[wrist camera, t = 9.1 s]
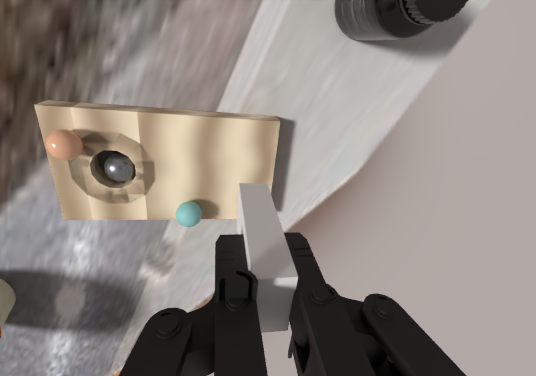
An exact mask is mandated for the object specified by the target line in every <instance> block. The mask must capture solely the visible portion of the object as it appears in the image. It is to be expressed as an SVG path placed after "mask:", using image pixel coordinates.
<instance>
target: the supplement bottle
mask: <svg viewBox="0 0 536 376" xmlns="http://www.w3.org/2000/svg"><path fill="white" fill-rule="evenodd" d="M467 1H468V0H335V17H336V21H337V23H338V26H339V27H340V29H341V30H342V32H343V33H344V34H345V35H346V36H348V37H349V38H352V39H354V40H362V41H363V40H364V41H366V40H400V39H409V38H413V37H416V36H418V35H420V34H422V33H423V32H425V31H426V30H427V29H429V28H430V27H431V26H432V25H433V24H434V23H441V22H443V21H447V20H448V19H450V18H451V17H454V16H455V14H456V13H458V12H459V11H460V10H461V8H463V7H464V6H465V4H466V2H467Z"/></svg>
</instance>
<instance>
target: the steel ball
mask: <svg viewBox="0 0 536 376" xmlns="http://www.w3.org/2000/svg"><path fill="white" fill-rule="evenodd" d="M104 170H105V173H106V175H107V176H108V177H109V178H111V179H112V180H114V181H119V182H122V181H127V180H129V179H130V178H132V177H133V176H134V174H135V172H136V170H135V165H134V164H133V162H132V161H131V160H130V158H129V157H128V156H126V155H124V154H122V153H116V154H113V155H111V156H109V157H108V158H107V159H106V161H105V163H104Z"/></svg>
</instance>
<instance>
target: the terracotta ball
mask: <svg viewBox="0 0 536 376" xmlns="http://www.w3.org/2000/svg"><path fill="white" fill-rule="evenodd" d="M45 147H46V150H47V151H48V153H49V154H50V155H51V156H53V157H54V158H57V159H59V160H72V159H75V158H76V157H78V156H79V155H80V154H81V152H82V150H83V142H82V140H81V138H80V137H79V136H78V135H77V134H76V133H75V132H73V131H71V130H67V129H58V130H55V131H52V132H51V133H50V134H49V135H48V136H47V137H46V140H45Z"/></svg>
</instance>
